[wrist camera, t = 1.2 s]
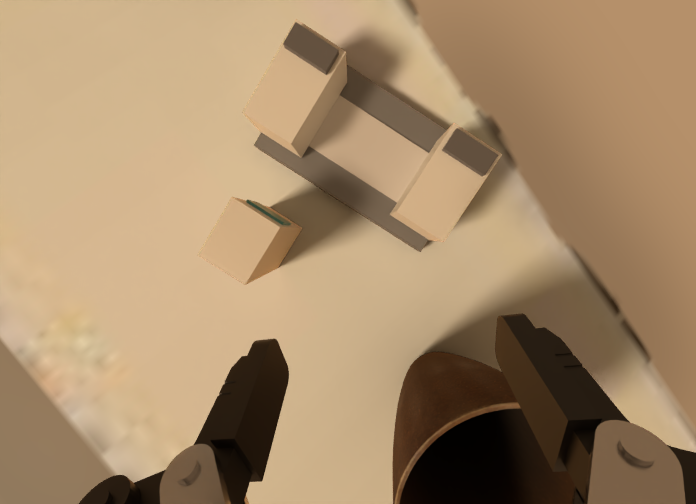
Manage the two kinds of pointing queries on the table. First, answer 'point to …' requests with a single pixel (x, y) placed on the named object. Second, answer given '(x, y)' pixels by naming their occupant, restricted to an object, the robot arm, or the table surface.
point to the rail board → (365, 141)
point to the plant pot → (467, 440)
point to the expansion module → (249, 240)
